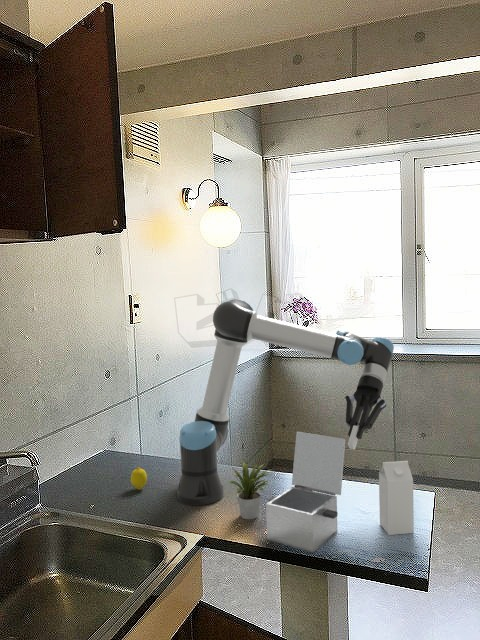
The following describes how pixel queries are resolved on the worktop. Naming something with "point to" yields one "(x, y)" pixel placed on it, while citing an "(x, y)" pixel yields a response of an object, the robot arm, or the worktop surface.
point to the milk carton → (396, 498)
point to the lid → (318, 463)
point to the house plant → (249, 491)
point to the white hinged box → (301, 518)
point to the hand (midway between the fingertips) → (351, 447)
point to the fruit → (138, 478)
